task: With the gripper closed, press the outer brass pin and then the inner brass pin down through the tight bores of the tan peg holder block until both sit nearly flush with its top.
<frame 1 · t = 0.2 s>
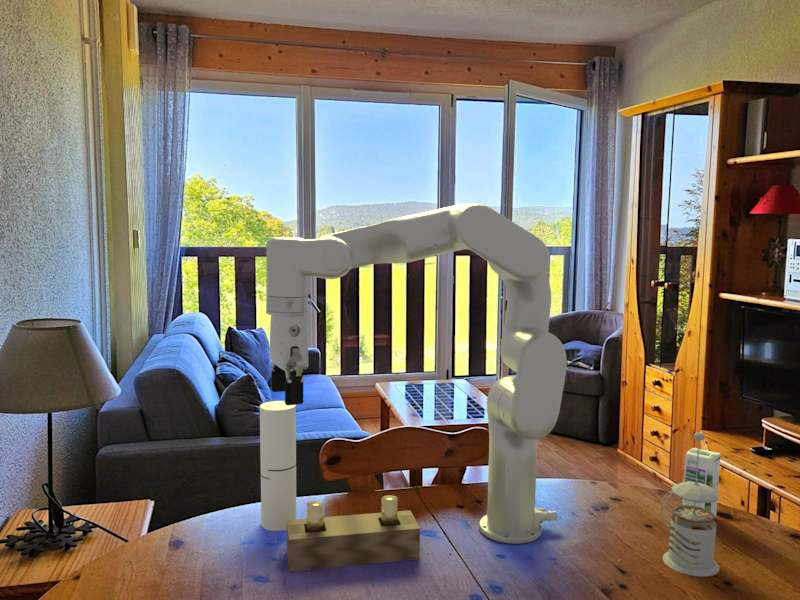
hand: (286, 397, 126), 30 cm above the table, fingers open, 9 cm apart
syrup box: (698, 518, 147), on the table
tan peg holder block: (352, 554, 129), on the table
inner brass pin: (389, 513, 130), point 8 cm above the table, slide at 0.0 cm
cylindrical container: (278, 524, 142), on the table
outer brass pin: (315, 519, 127), point 8 cm above the table, slide at 0.0 cm
french press: (686, 561, 128), on the table
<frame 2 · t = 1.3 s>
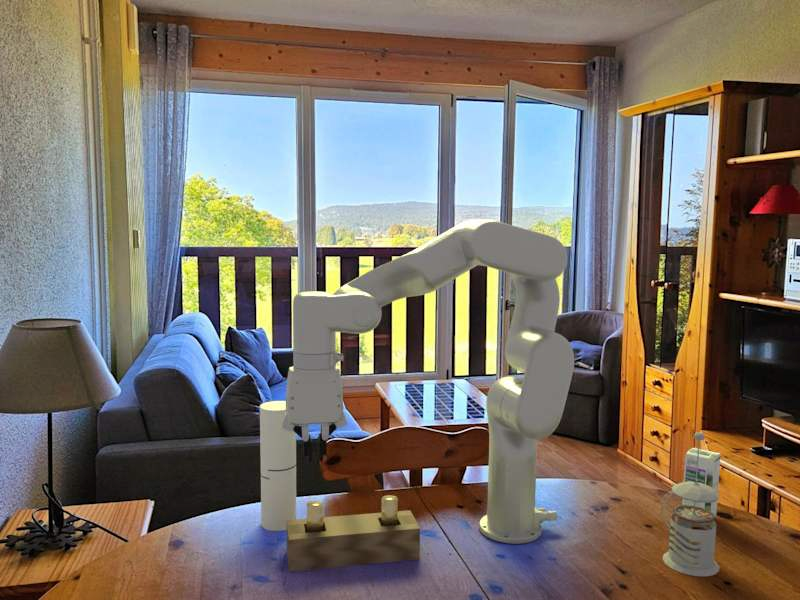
hand: (314, 459, 125), 19 cm above the table, fingers closed
nothing on the table moved.
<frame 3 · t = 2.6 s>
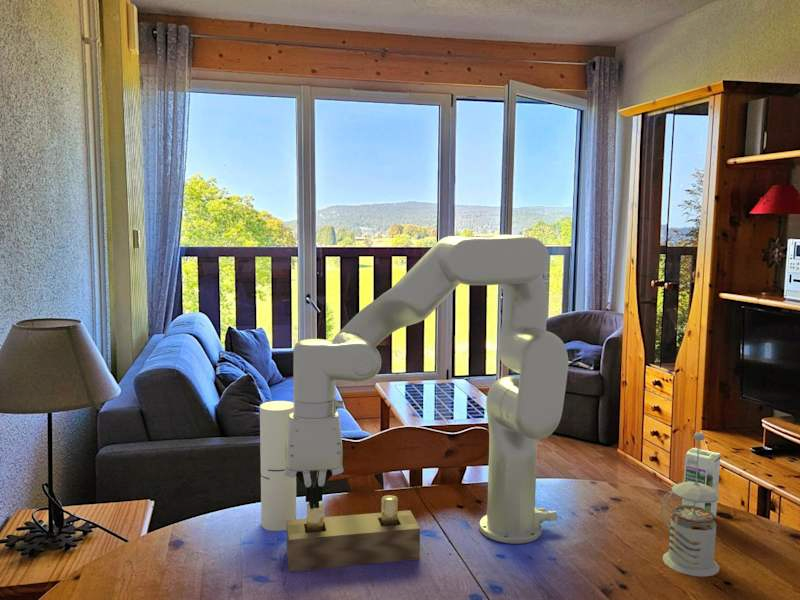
hand: (313, 504, 126), 10 cm above the table, fingers closed
outer brass pin: (315, 520, 127), point 7 cm above the table, slide at 0.1 cm, touching gripper
everything else where it was.
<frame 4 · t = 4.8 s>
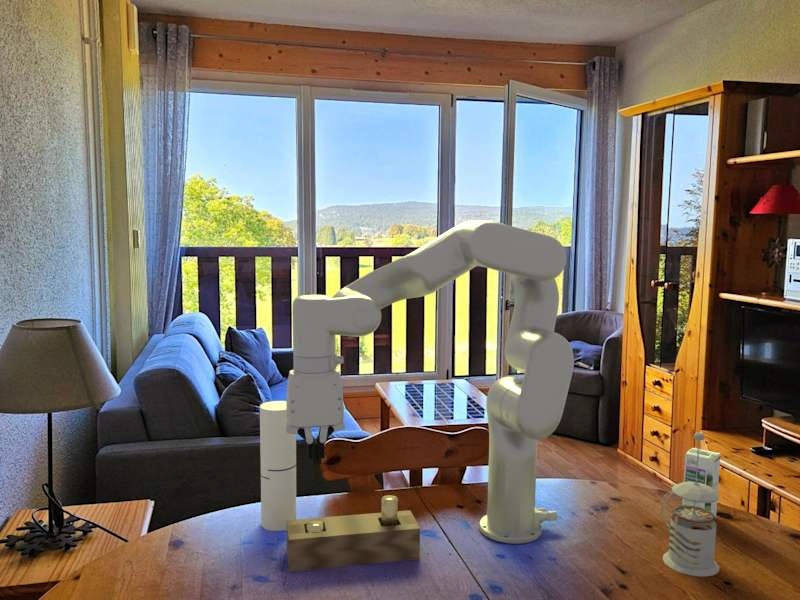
hand: (316, 462, 125), 19 cm above the table, fingers closed
outer brass pin: (315, 539, 127), point 4 cm above the table, slide at 3.9 cm
everything else where it was.
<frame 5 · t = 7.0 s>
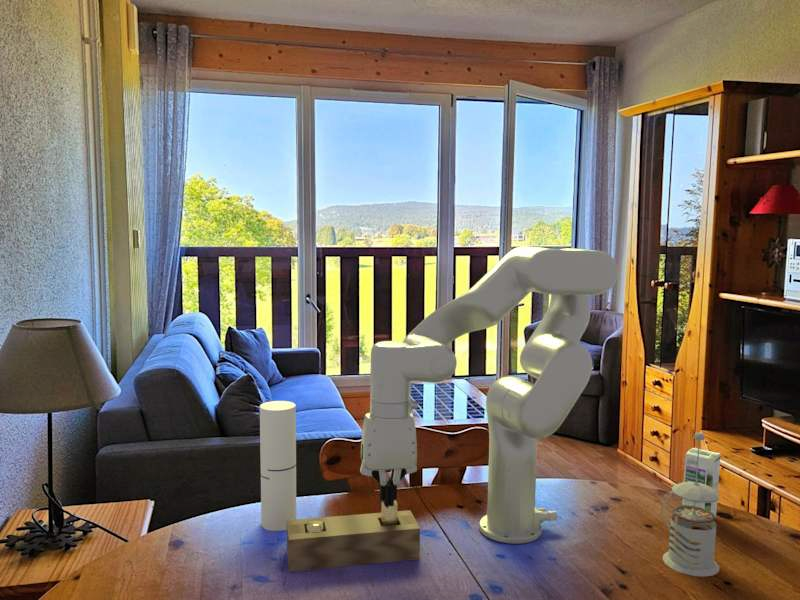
hand: (388, 502, 129), 10 cm above the table, fingers closed
inner brass pin: (389, 518, 130), point 7 cm above the table, slide at 0.9 cm, touching gripper
everything else where it was.
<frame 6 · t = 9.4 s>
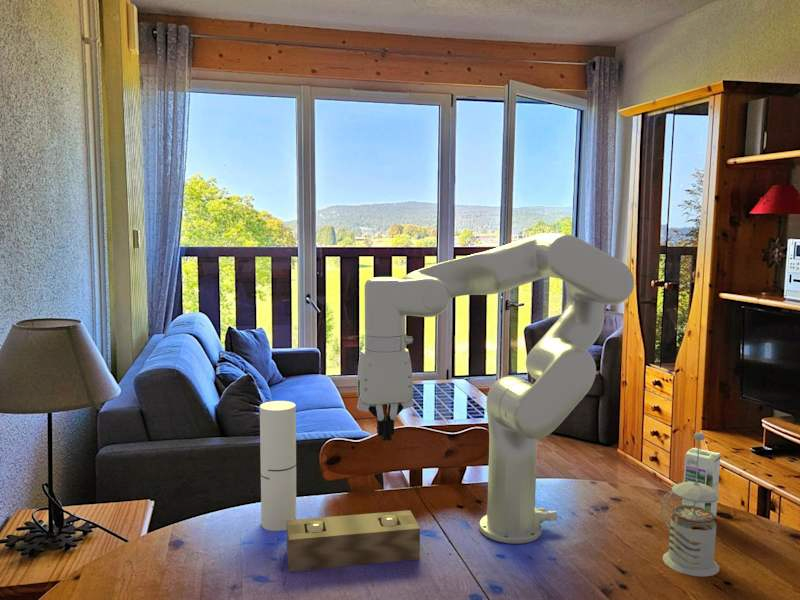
hand: (385, 438, 130), 21 cm above the table, fingers closed
inner brass pin: (389, 533, 130), point 4 cm above the table, slide at 3.9 cm
everything else where it was.
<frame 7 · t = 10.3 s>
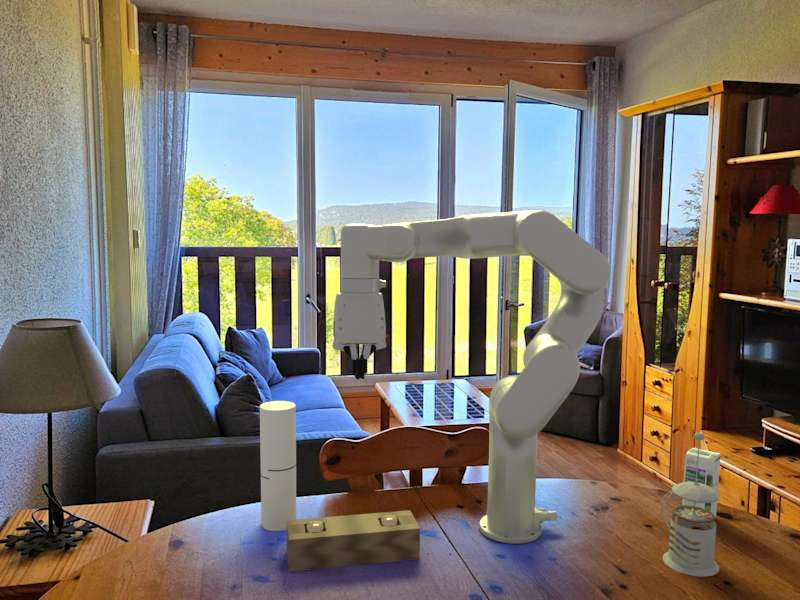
hand: (359, 377, 137), 31 cm above the table, fingers closed
nothing on the table moved.
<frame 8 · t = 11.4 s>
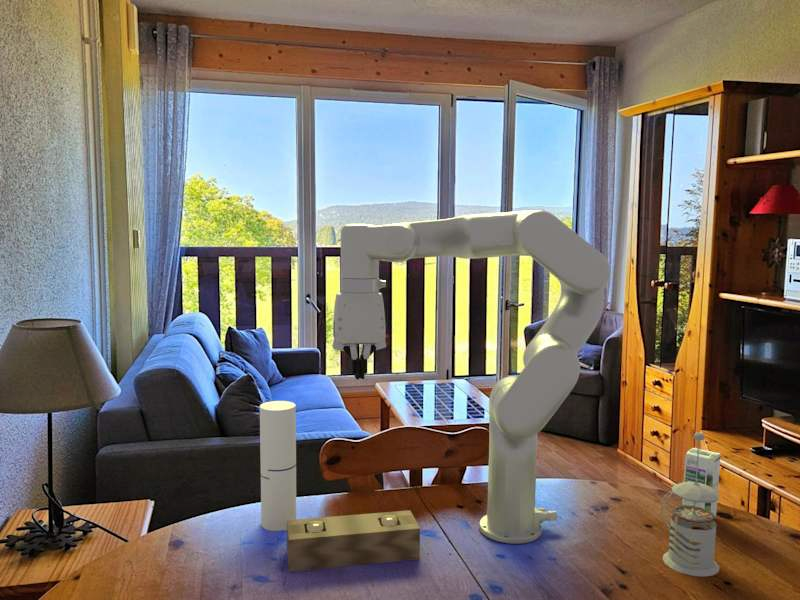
hand: (359, 377, 137), 31 cm above the table, fingers closed
nothing on the table moved.
at the end: outer brass pin slide at 3.9 cm; inner brass pin slide at 3.9 cm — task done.
